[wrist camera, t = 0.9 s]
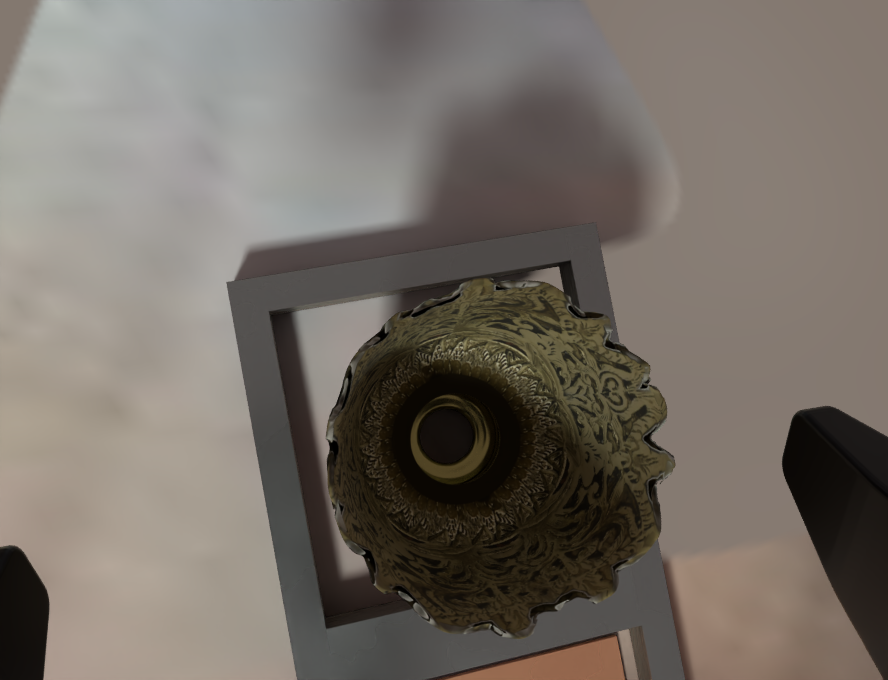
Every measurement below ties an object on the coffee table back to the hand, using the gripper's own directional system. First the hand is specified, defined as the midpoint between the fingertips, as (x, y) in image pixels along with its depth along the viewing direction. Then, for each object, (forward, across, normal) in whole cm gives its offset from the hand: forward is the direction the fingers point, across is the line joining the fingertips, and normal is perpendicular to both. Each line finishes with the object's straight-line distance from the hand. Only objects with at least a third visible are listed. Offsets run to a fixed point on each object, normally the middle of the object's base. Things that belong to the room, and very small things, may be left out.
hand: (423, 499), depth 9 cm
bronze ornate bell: (+12, -1, +10) cm, 15 cm away
